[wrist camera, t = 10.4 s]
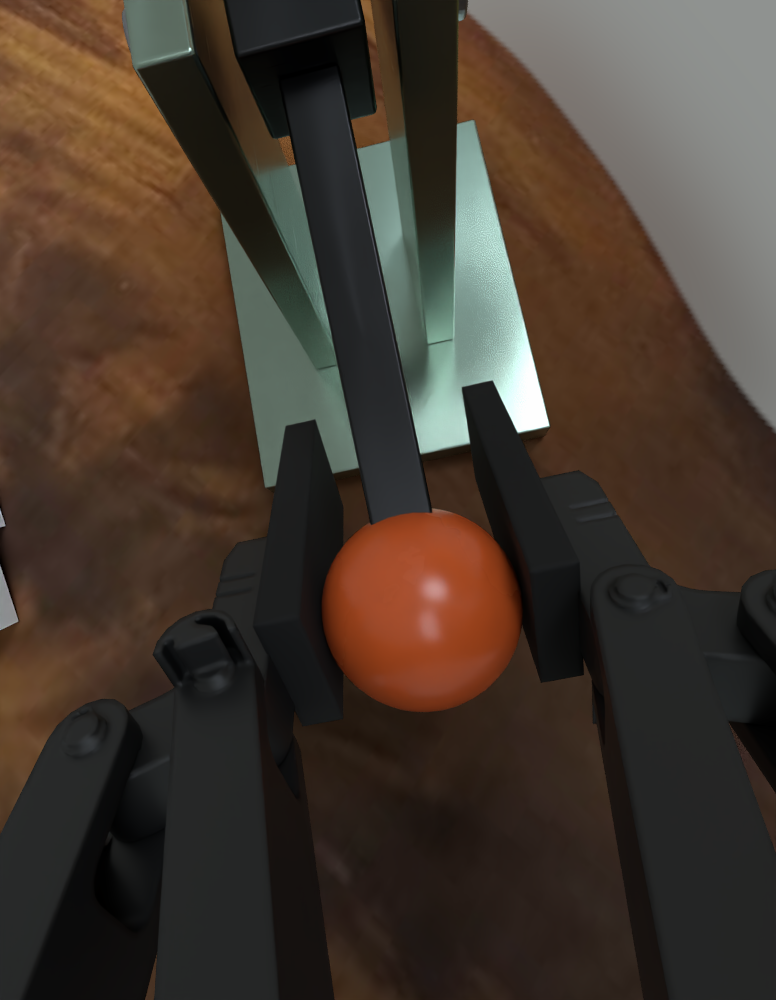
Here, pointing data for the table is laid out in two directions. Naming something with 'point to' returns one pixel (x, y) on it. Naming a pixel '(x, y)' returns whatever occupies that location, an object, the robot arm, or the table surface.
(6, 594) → the bracket
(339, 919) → the table surface
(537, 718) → the table surface
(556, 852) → the table surface
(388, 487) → the clamp lever
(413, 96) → the clamp
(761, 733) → the robot arm
